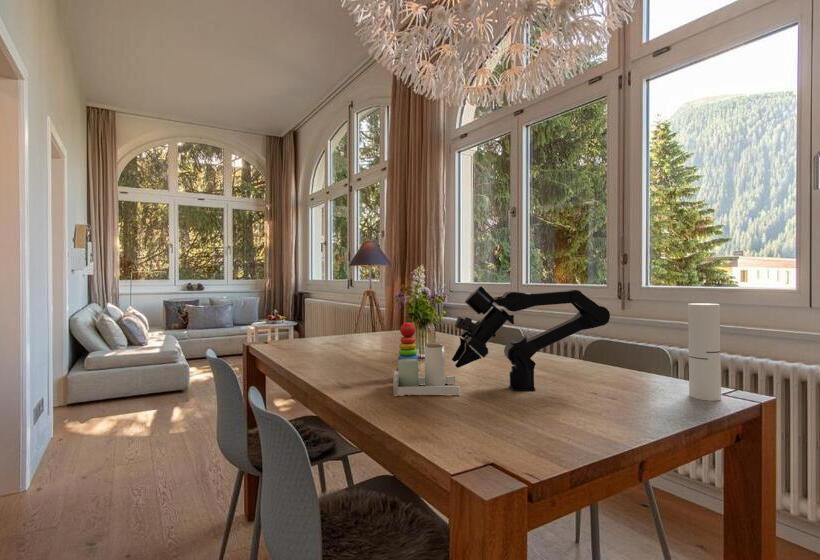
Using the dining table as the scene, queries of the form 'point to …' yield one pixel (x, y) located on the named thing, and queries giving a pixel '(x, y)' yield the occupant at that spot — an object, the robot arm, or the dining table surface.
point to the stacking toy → (407, 343)
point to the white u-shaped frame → (425, 387)
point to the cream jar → (434, 364)
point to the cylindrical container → (704, 351)
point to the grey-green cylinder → (408, 372)
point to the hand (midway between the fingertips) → (454, 363)
